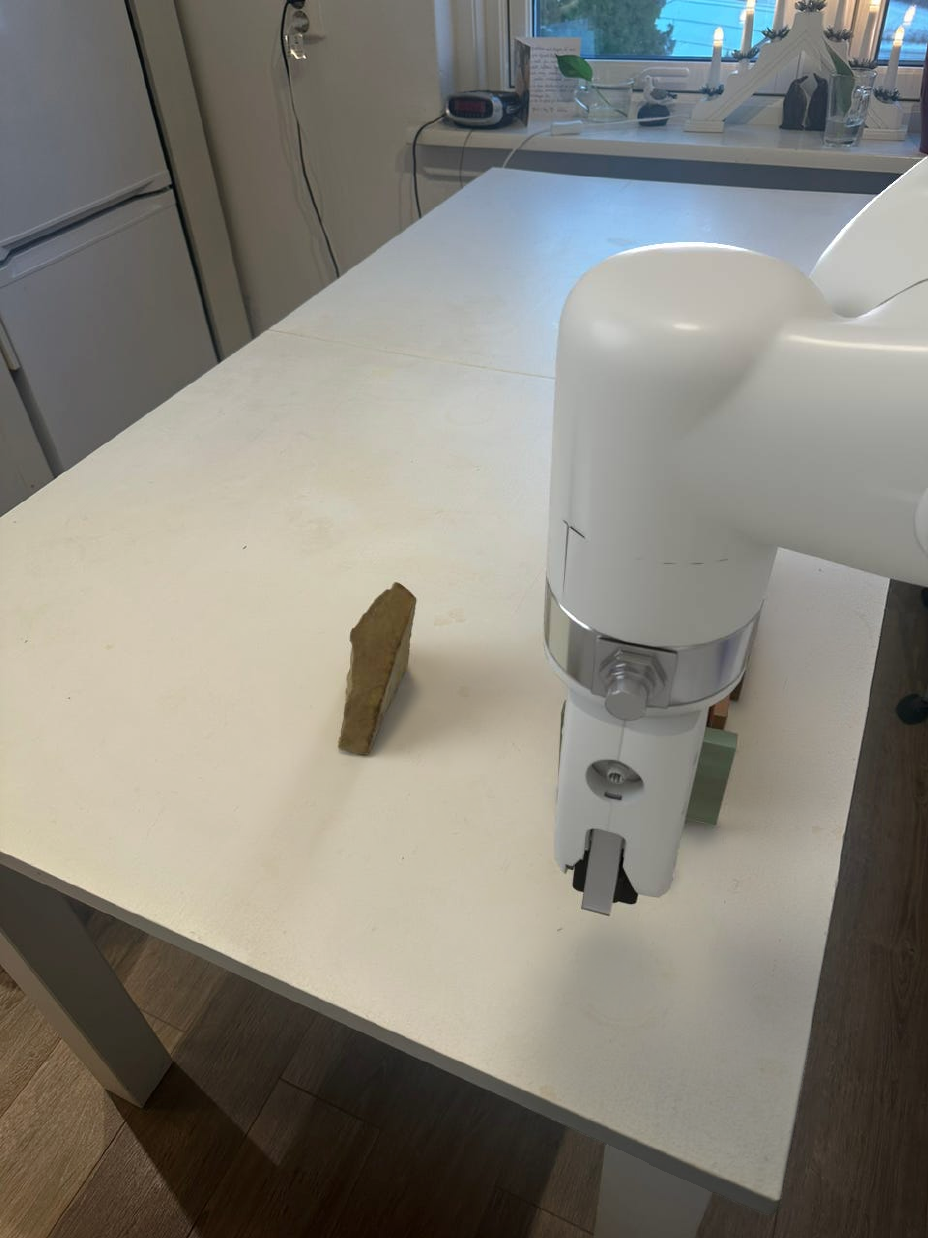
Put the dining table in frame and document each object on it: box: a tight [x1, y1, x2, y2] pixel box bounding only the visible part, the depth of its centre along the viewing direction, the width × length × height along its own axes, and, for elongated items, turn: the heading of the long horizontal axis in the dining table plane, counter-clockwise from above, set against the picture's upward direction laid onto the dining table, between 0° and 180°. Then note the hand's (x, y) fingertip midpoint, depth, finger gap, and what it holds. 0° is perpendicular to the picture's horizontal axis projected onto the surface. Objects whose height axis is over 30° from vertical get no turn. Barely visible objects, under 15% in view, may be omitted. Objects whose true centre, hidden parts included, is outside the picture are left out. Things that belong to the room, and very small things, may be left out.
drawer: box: [557, 694, 739, 826], centre depth 58 cm, size 19×10×8 cm, turn 162°
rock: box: [337, 581, 417, 755], centre depth 64 cm, size 11×9×10 cm
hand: (606, 883), depth 44 cm, fingers closed
